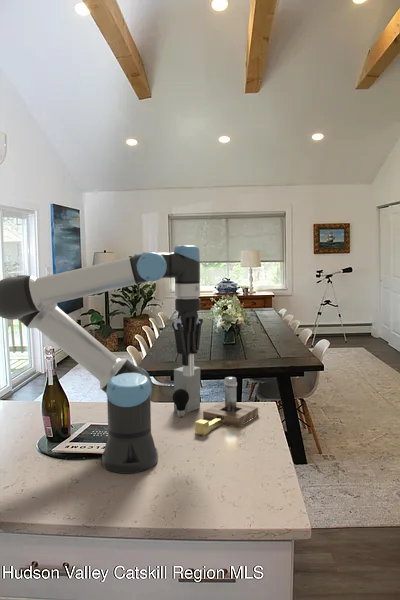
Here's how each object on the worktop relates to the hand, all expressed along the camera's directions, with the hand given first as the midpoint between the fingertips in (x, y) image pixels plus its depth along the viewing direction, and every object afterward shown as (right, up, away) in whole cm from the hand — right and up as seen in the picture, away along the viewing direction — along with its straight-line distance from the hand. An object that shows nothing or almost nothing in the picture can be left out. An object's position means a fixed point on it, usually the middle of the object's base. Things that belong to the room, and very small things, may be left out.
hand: (188, 375), depth 144 cm
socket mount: (+14, -18, +22) cm, 32 cm away
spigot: (+14, -18, +22) cm, 32 cm away
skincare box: (-1, -18, +32) cm, 36 cm away
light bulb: (-3, -19, +23) cm, 30 cm away
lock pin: (+7, -19, +11) cm, 23 cm away
